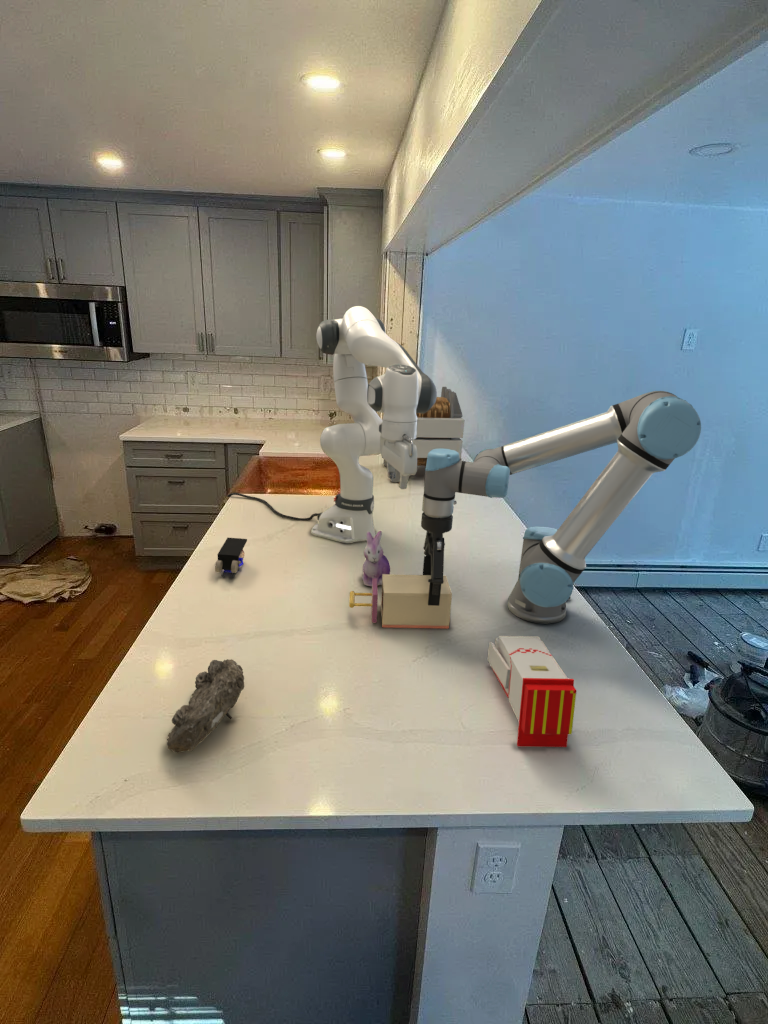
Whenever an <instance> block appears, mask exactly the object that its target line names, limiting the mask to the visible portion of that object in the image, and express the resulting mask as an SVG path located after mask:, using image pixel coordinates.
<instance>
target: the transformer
mask: <svg viewBox="0 0 768 1024" xmlns="http://www.w3.org/2000/svg"><path fill="white" fill-rule="evenodd" d="M440 393H441V394H440V396H437V398H436V402H435V404H434V405H433V406H432V407H431V409H430V410H428V411H427V412H426V413H424V414H422V413H416V415H417V434H416V439H414V440H412V443H413V444H415V445H416V448H417V467H426V464H427V456H428V453H429V452H430V451H431V450H433V449H440V448H442V449H450V450H455V451H457V452H458V453H459V458H460V460H461V461H463V460H462V453H463V442H464V441H463V440H462V439H463V438H464V431H465V430H464V429H465V419H464V418H463V411H462V408H461V405H460V402H459V398H458V395H457V392H455V391H453V390H452V389H451V388H447V386H442V387H441V392H440ZM383 466H384V467H387V461H385V460H384V459H383ZM395 472H396V478H395V479H390V478H389V480H390V482H391V483H399V481H400V477H401V476H400V472H399V471H397V470H396V469H395Z"/></svg>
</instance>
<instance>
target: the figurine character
mask: <svg viewBox="0 0 768 1024" xmlns="http://www.w3.org/2000/svg"><path fill="white" fill-rule="evenodd" d="M247 542H248V538H240V537H226V539H225V541H224V543H223V544H222V546H221V547H220V549H219V551H218V552H217V560H216V562H215V564H214V572H215V573H221V577H222V578H224V577H225V576H226V574H227V573H230V574H231V573H232V574H231V578H234V577H235V575H236V573H237V572H239V571H240V567H242V566H243V565H244V564H245V562H244V558H245V551H244V547H245V546H246V544H247Z"/></svg>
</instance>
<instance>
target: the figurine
mask: <svg viewBox="0 0 768 1024" xmlns="http://www.w3.org/2000/svg"><path fill="white" fill-rule="evenodd" d="M382 536H383V532H382V530H379V531H378V532H376V535H375V537H372V535H371V533H370V532H367V534H366V538H367V540H366V545H365V548H364V550H363V556H364V559H365V560H364V562H363V564H362V577H361V580H362V581H363V585H364V586H368V587H372V578H377V587H378V586H382V574H391V565H390V560H389V559H388V557H387V556H386V555H385V554H384V550H383V547H382V546H381V541H382Z"/></svg>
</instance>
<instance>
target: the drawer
mask: <svg viewBox="0 0 768 1024" xmlns="http://www.w3.org/2000/svg"><path fill="white" fill-rule="evenodd" d="M378 590H379V589H378V586H377V578H372V586H371V592H355V591H354V590H351V591H350V592H349V597H348V598H349V599H348V601H349V602H348V606H349V608H351V609H353V608H355V607H368V608H369V607H370V609H371V623H373V624H375V623H377V622H378V600H379V591H378ZM381 594H382V602H381V601H380V609H381V608H382V616H381V618H382V617H383V596H384V593H383V581H382V585H381ZM357 596H358V597H371V600H370V601H371V602H369V603H368V602H367V603H366V602H355V601H356V600H355V597H357Z"/></svg>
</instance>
